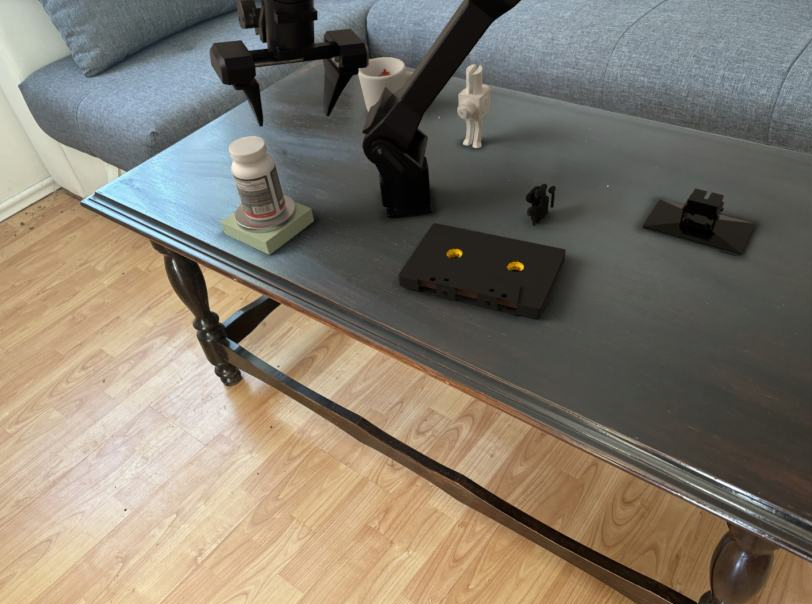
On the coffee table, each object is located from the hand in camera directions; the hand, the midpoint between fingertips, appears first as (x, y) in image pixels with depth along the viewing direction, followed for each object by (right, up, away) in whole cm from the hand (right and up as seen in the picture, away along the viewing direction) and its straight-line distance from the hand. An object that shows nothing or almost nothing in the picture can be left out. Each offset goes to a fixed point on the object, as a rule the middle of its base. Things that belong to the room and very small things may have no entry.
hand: (294, 119), depth 87 cm
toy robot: (+26, +3, +18) cm, 32 cm away
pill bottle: (-5, -11, +4) cm, 13 cm away
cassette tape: (+24, -21, -4) cm, 33 cm away
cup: (+13, +10, +27) cm, 32 cm away
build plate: (+53, -15, -1) cm, 55 cm away
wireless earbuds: (+33, -13, +3) cm, 35 cm away
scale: (-5, -13, +6) cm, 15 cm away
